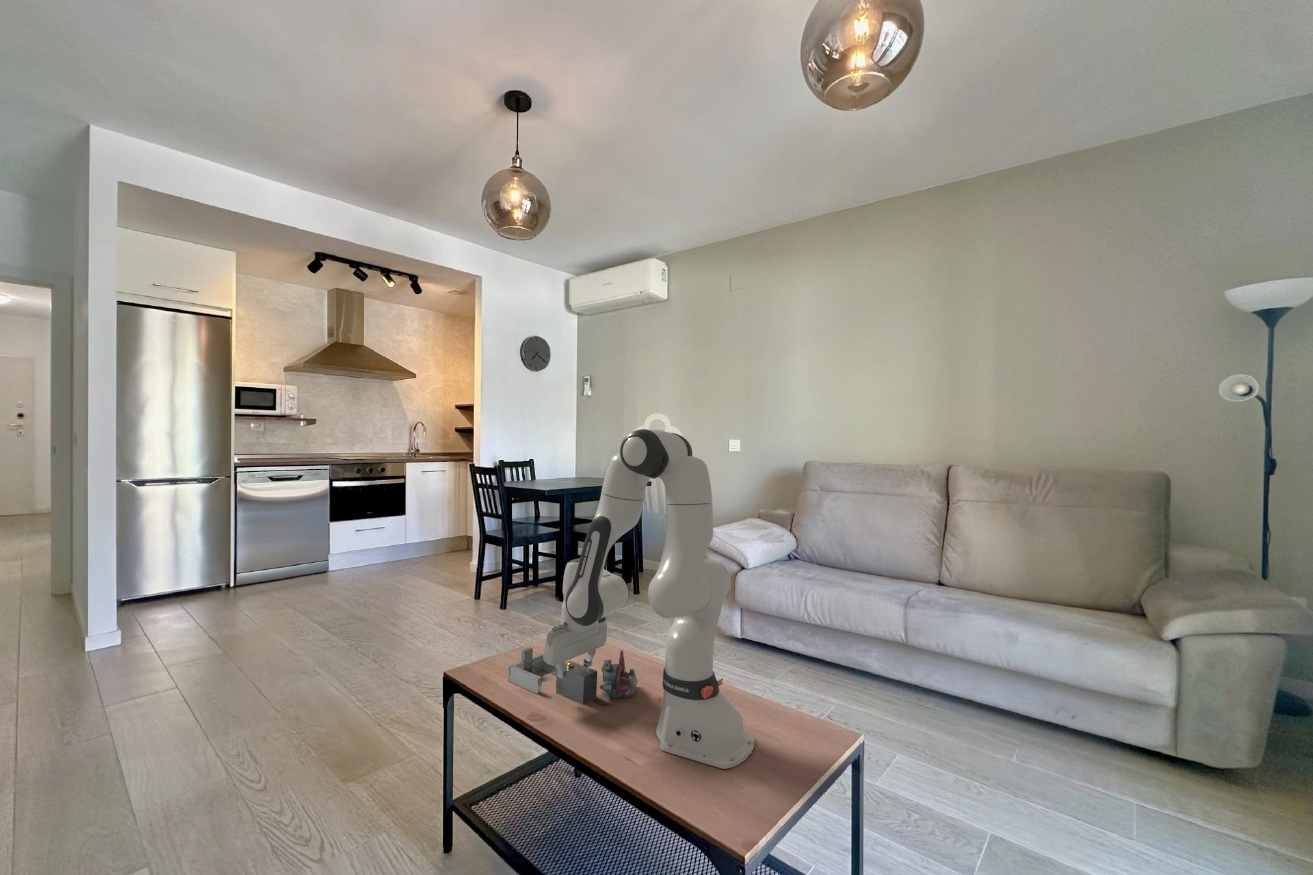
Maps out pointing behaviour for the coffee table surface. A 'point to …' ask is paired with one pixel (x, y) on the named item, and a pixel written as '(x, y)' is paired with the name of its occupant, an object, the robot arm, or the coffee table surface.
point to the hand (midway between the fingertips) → (574, 671)
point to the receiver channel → (529, 671)
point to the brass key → (624, 670)
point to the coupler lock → (577, 683)
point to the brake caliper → (618, 679)
